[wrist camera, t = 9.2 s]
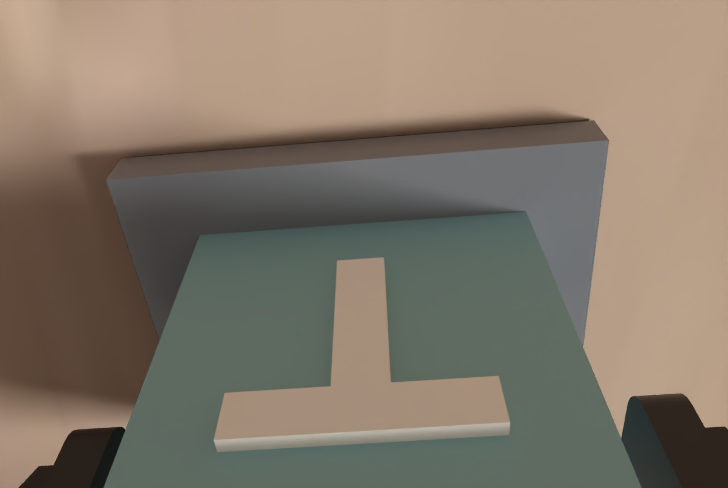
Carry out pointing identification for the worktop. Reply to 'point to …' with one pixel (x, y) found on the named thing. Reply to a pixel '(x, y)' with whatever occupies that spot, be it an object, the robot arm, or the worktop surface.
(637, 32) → the worktop surface
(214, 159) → the coaster
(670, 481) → the robot arm
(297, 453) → the cube
